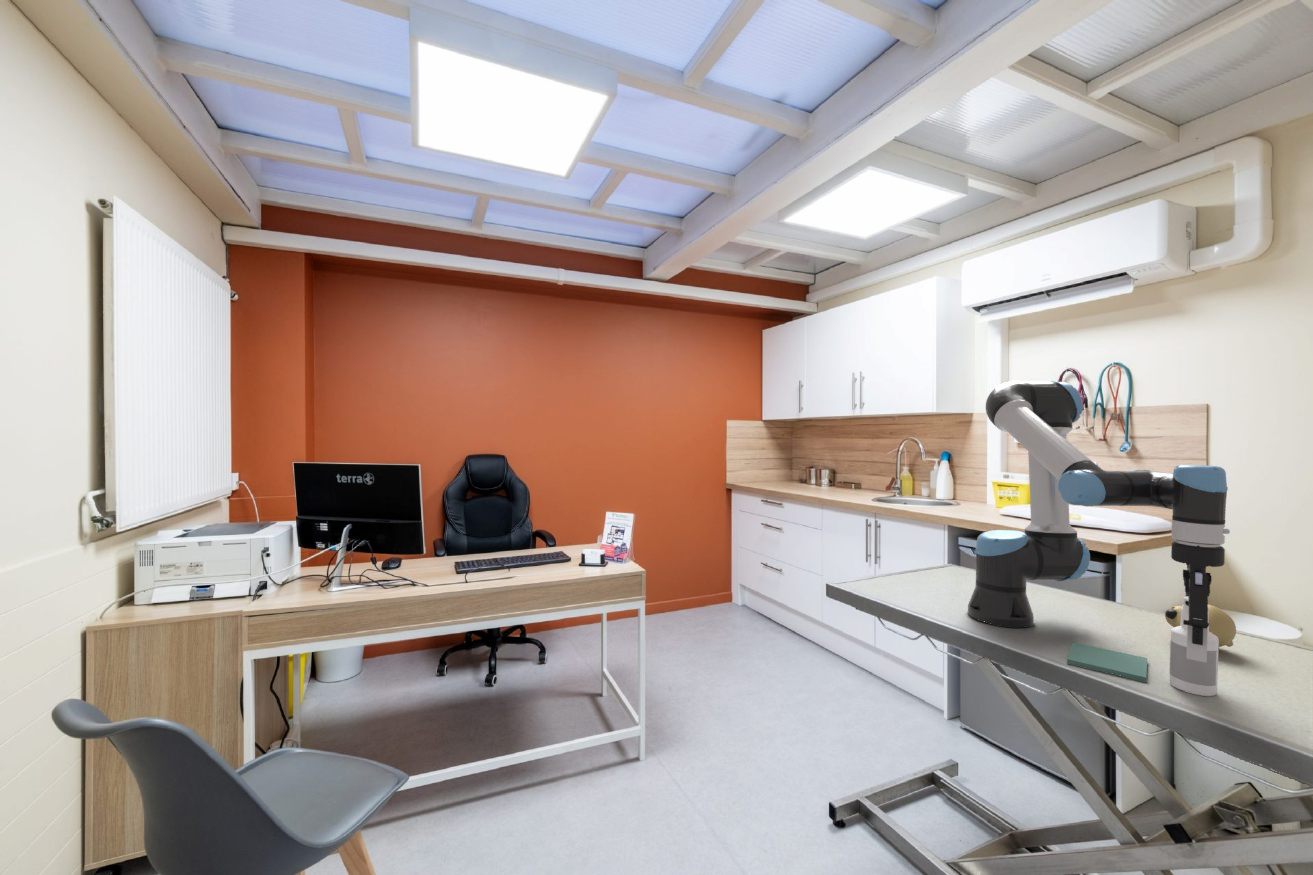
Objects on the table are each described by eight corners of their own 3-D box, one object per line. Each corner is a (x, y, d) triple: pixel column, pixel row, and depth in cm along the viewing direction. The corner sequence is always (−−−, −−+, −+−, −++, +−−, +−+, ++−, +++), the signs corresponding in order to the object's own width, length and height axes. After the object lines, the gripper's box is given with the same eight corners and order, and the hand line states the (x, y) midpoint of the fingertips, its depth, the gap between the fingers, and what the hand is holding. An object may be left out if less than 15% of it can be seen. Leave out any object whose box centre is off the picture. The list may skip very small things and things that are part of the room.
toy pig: (1184, 635, 138) (1185, 593, 138) (1246, 654, 127) (1247, 608, 126) (1155, 638, 136) (1156, 595, 135) (1215, 658, 124) (1217, 611, 124)
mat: (1066, 663, 121) (1067, 658, 121) (1073, 646, 130) (1073, 642, 130) (1146, 682, 112) (1146, 677, 112) (1147, 662, 122) (1147, 657, 122)
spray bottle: (1159, 681, 113) (1162, 593, 112) (1190, 680, 113) (1192, 593, 113) (1195, 697, 106) (1197, 604, 105) (1227, 696, 106) (1230, 604, 106)
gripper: (1231, 556, 97) (1227, 675, 98) (1219, 536, 116) (1216, 637, 116) (1172, 550, 102) (1169, 663, 103) (1170, 532, 121) (1168, 628, 121)
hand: (1194, 649), depth 109 cm, fingers open, 13 cm apart
